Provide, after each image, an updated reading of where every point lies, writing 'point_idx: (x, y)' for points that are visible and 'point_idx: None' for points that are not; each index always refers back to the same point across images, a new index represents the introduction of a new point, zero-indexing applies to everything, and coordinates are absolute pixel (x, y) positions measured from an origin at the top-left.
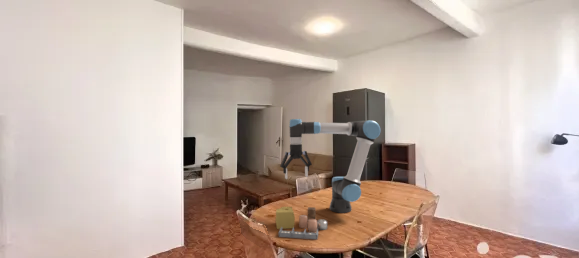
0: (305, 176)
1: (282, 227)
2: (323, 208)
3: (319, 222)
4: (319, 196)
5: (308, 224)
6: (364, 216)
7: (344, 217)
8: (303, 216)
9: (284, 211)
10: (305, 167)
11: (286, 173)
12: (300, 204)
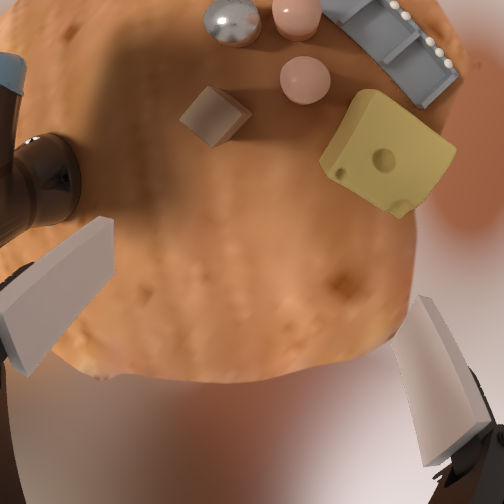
0: (112, 263)
1: (421, 102)
2: None
3: (252, 11)
4: (65, 332)
5: (319, 20)
6: (29, 74)
7: (80, 89)
8: (305, 77)
9: (417, 132)
10: (31, 346)
11: (458, 353)
12: (156, 318)
